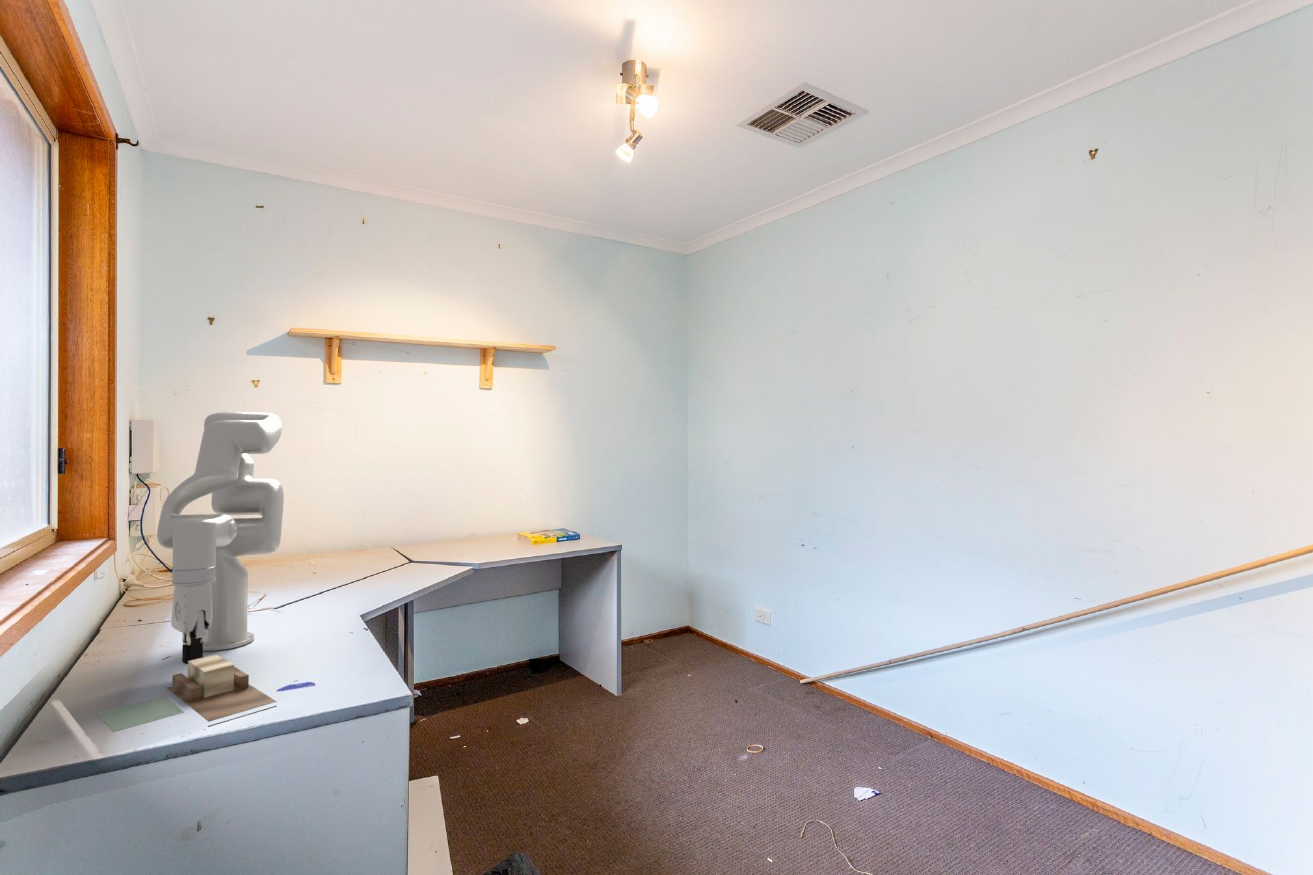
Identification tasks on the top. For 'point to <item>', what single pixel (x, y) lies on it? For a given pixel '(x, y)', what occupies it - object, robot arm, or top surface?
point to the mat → (139, 713)
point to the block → (212, 675)
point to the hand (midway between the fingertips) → (192, 661)
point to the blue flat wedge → (296, 686)
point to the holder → (220, 697)
